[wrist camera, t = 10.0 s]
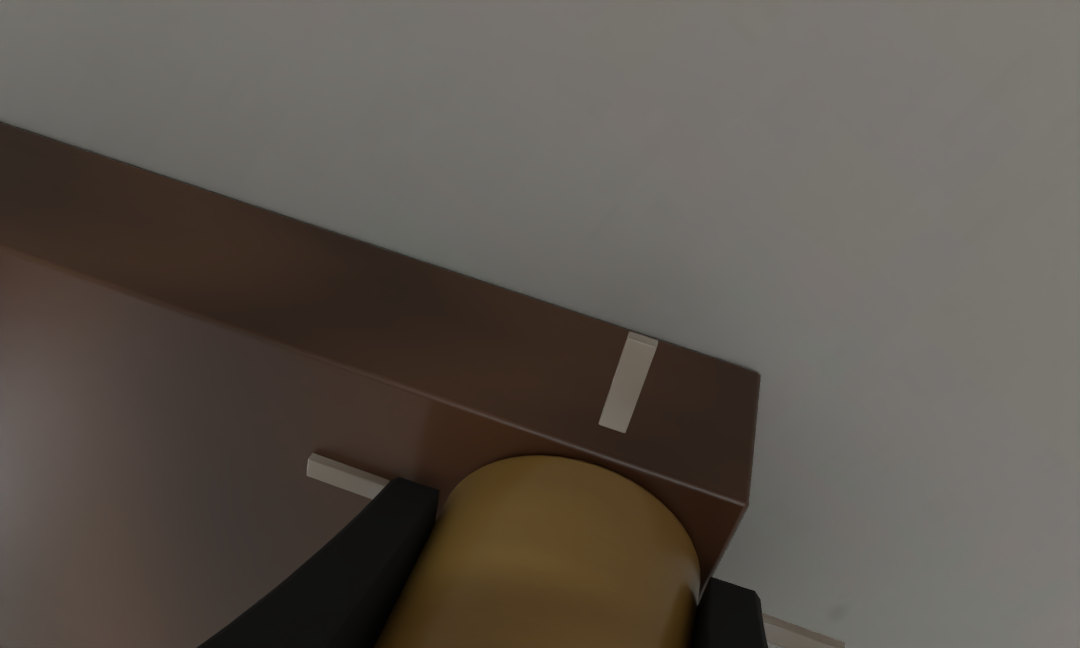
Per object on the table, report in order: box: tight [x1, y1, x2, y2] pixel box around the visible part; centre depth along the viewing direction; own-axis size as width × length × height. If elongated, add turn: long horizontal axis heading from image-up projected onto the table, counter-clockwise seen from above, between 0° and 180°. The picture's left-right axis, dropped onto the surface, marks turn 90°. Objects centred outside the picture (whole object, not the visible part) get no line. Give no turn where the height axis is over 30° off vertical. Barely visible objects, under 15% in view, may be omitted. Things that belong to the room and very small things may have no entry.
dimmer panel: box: [0, 122, 845, 648], centre depth 16 cm, size 16×14×3 cm
